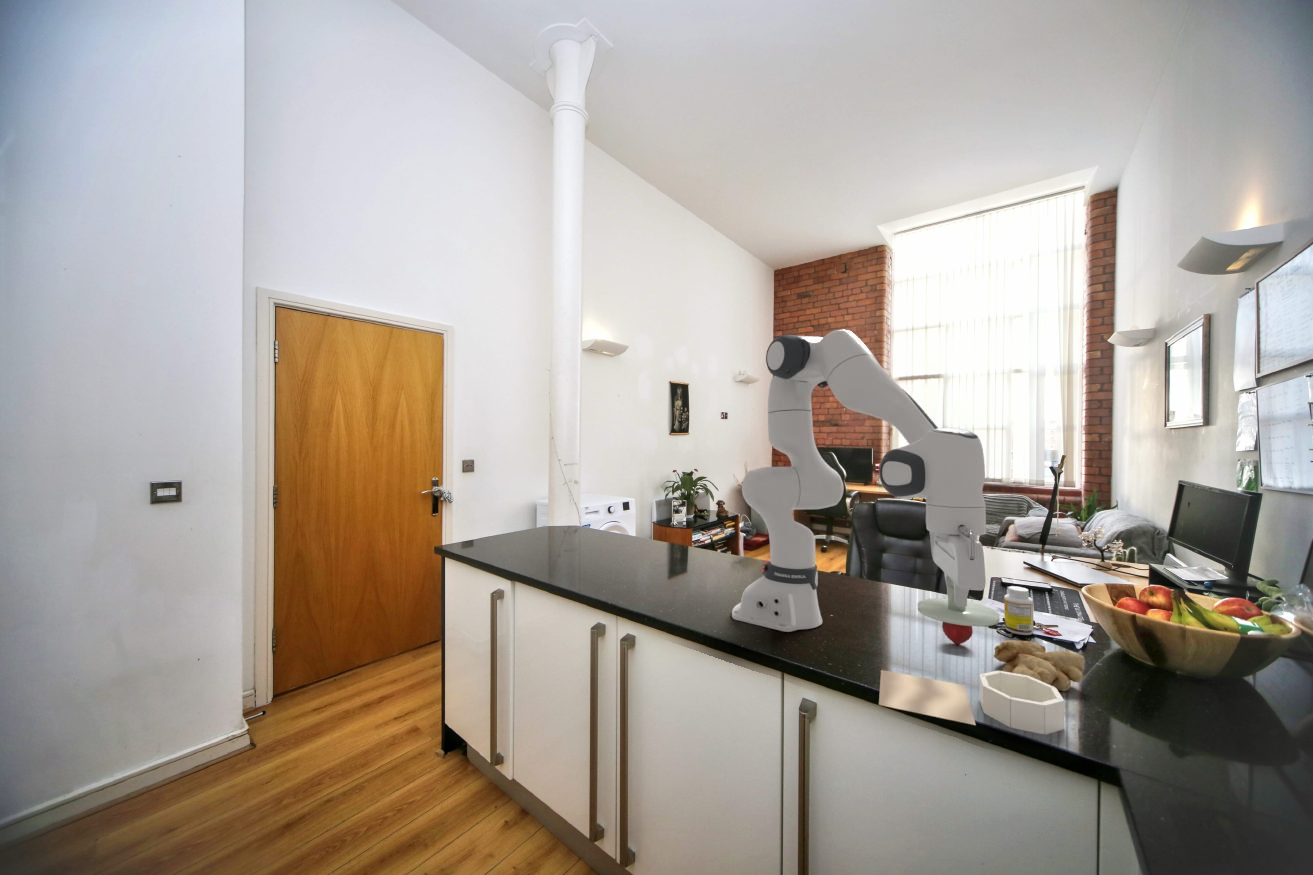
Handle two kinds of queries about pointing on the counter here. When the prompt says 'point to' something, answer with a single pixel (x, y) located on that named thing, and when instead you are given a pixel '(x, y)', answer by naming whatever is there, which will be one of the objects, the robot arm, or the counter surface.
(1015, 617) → the supplement bottle
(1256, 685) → the counter surface
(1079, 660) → the ginger root
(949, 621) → the lid
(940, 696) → the mat
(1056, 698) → the bowl
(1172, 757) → the counter surface
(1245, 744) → the counter surface
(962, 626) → the onion
